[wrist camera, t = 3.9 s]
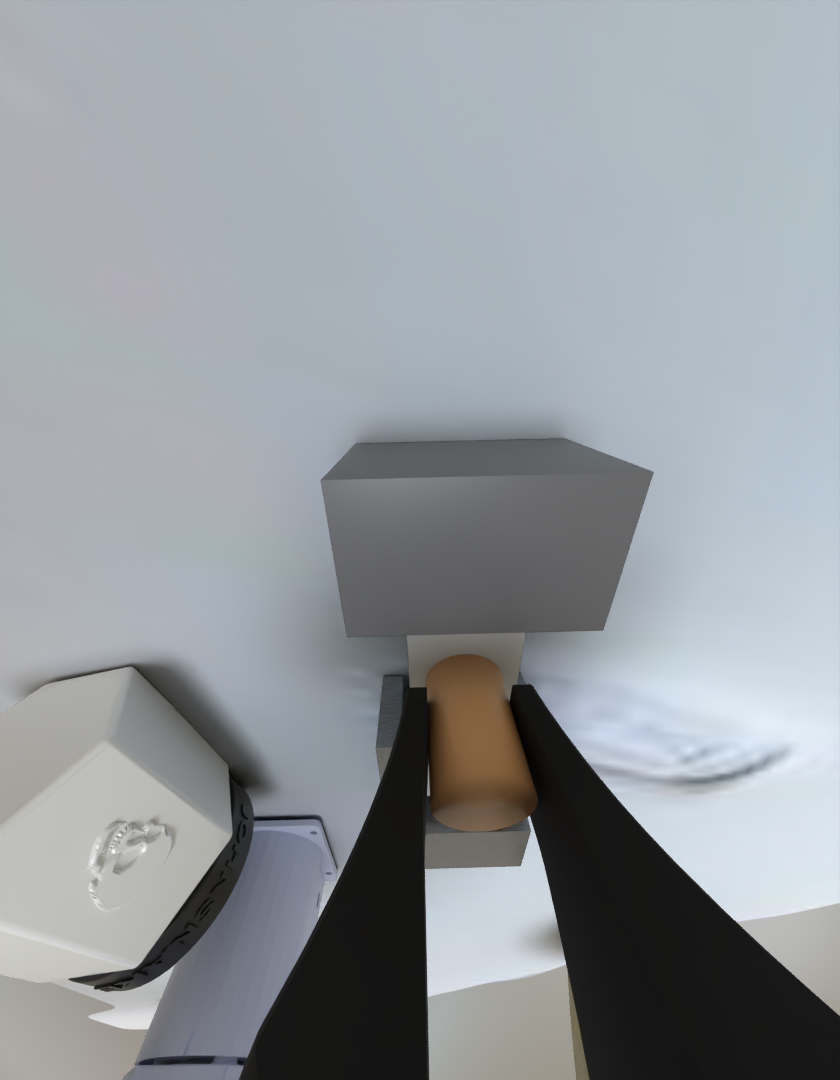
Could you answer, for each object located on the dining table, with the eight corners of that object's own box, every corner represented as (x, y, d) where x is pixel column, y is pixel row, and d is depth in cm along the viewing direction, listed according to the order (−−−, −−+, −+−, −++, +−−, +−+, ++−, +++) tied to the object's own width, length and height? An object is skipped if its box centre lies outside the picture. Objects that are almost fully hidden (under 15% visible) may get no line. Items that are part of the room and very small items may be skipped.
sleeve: (500, 787, 21) (518, 873, 17) (395, 790, 21) (391, 877, 17) (520, 672, 16) (551, 758, 12) (383, 676, 16) (373, 763, 12)
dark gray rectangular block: (544, 552, 13) (603, 630, 9) (368, 557, 13) (346, 637, 9) (564, 438, 11) (653, 472, 7) (355, 443, 11) (320, 480, 7)
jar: (171, 687, 13) (289, 810, 19) (99, 645, 17) (214, 758, 23) (-253, 1050, 7) (122, 1069, 12) (-213, 848, 11) (58, 934, 16)
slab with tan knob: (485, 732, 18) (521, 912, 12) (415, 734, 18) (415, 915, 12) (510, 523, 12) (607, 668, 6) (405, 525, 12) (396, 674, 6)
